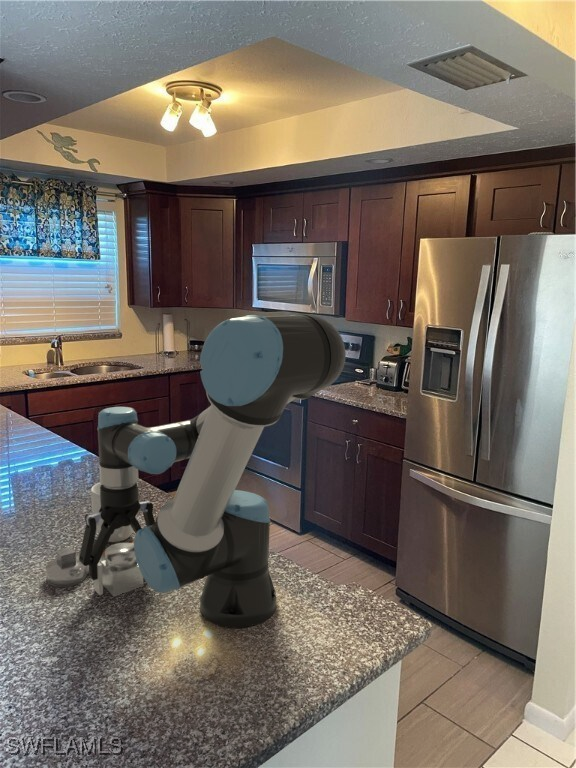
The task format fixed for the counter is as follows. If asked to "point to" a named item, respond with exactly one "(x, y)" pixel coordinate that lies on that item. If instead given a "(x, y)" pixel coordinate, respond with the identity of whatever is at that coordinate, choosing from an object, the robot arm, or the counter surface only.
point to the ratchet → (67, 569)
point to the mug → (118, 533)
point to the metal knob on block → (121, 569)
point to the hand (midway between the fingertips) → (122, 583)
